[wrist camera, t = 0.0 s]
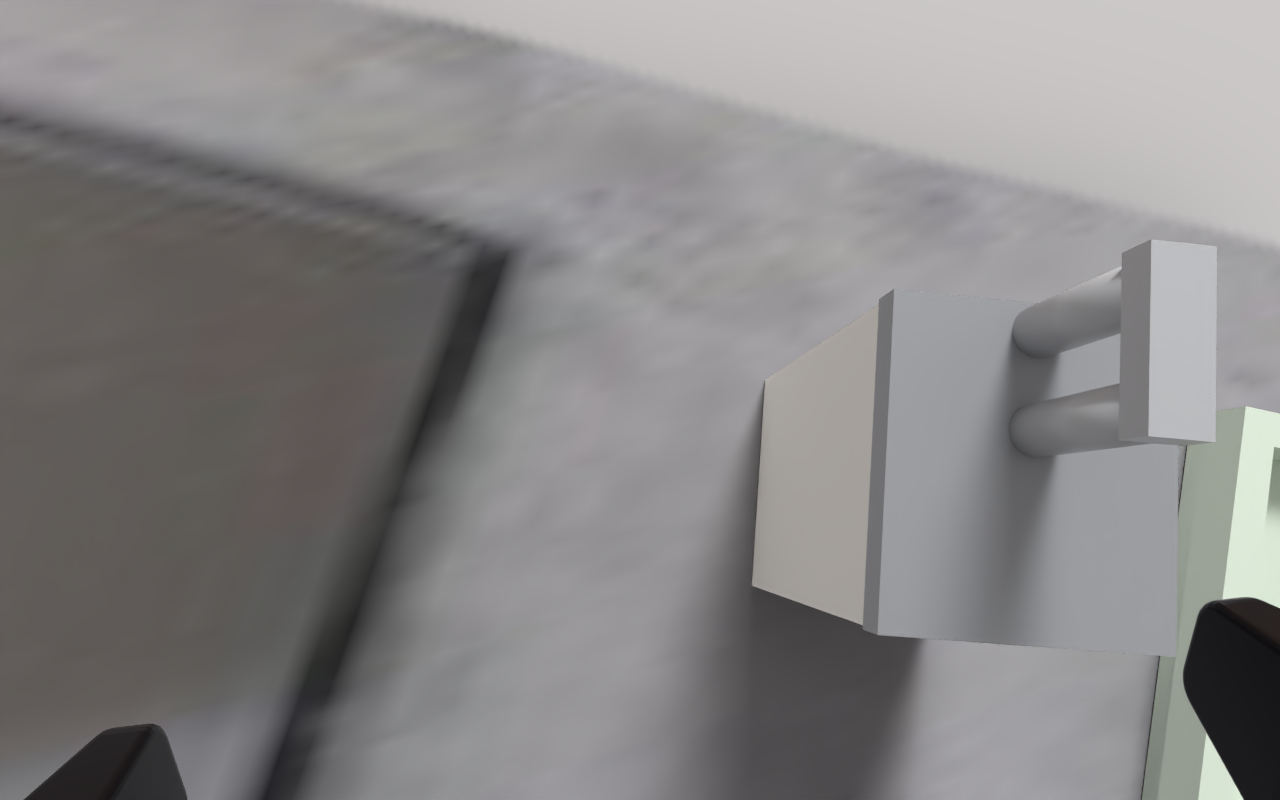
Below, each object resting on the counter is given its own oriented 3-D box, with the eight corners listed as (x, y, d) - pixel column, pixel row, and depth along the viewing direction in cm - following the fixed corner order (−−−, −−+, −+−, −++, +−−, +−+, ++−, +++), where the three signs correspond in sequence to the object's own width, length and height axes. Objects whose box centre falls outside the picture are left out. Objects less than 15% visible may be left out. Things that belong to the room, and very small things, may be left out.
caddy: (932, 601, 24) (1371, 701, 11) (749, 587, 24) (981, 673, 11) (941, 393, 24) (1366, 257, 12) (763, 377, 24) (997, 218, 11)
